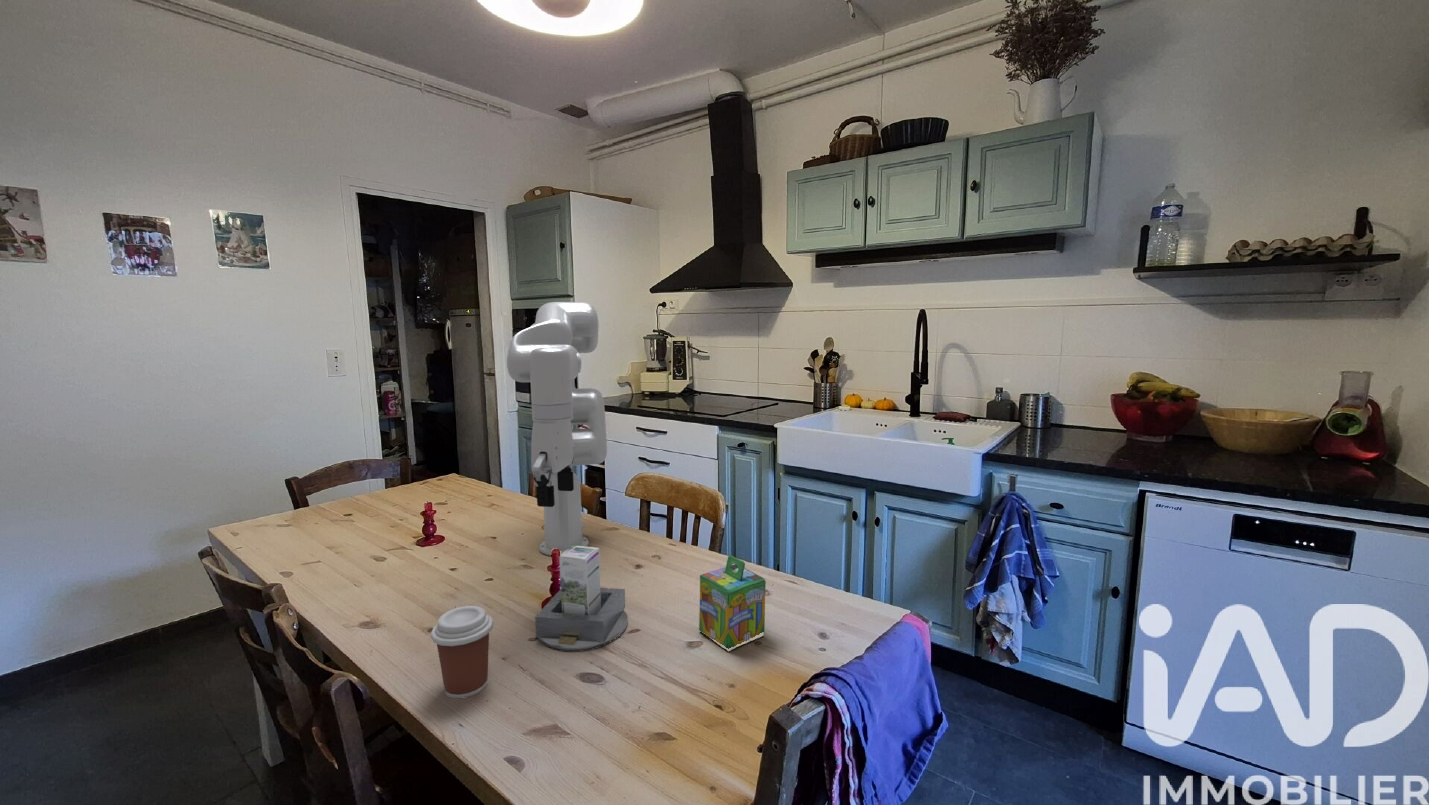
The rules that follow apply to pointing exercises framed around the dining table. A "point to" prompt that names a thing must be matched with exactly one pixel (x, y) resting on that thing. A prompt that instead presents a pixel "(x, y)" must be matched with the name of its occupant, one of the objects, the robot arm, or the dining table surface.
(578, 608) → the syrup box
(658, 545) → the dining table surface
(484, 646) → the coffee cup
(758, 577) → the chalk box
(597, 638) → the open box
